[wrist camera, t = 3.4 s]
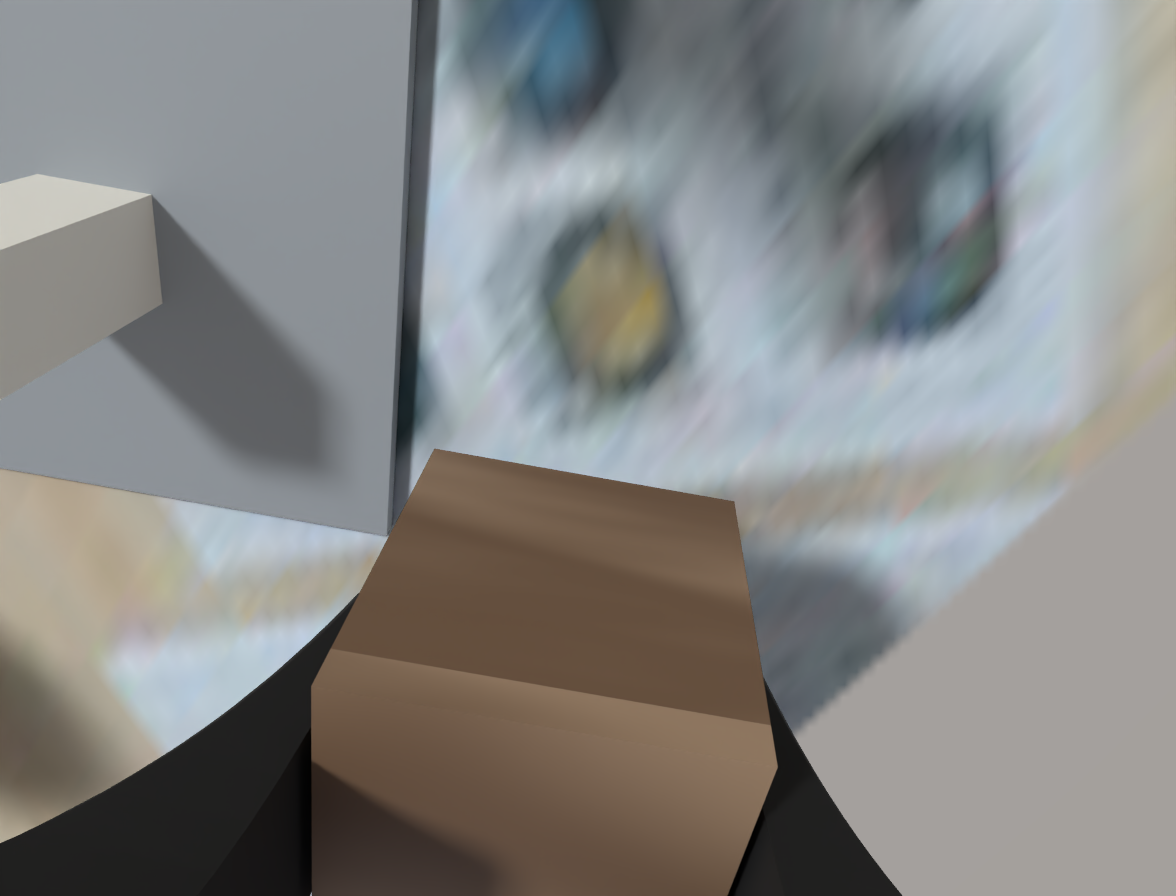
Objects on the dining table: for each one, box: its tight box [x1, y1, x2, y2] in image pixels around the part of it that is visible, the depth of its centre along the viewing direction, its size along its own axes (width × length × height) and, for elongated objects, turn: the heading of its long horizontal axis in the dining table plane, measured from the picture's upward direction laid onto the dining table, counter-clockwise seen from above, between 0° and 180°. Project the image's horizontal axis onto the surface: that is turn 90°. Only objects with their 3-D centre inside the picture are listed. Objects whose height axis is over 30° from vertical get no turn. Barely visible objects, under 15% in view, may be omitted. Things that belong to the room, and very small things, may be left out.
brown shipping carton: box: [311, 449, 778, 896], centre depth 13 cm, size 5×5×6 cm
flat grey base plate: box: [0, 0, 418, 536], centre depth 17 cm, size 14×14×6 cm
